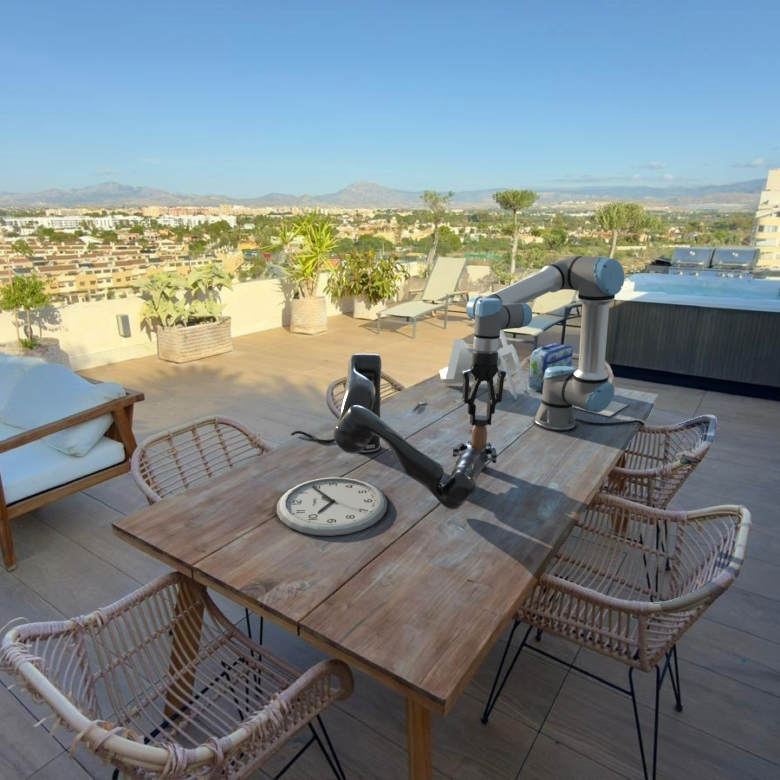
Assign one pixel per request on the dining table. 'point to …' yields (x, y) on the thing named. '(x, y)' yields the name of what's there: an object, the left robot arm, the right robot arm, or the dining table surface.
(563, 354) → the lunch box
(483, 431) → the bottle
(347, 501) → the wall clock
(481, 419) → the cap
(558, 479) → the dining table surface
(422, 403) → the fork
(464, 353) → the white plastic object
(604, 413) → the invitation card
